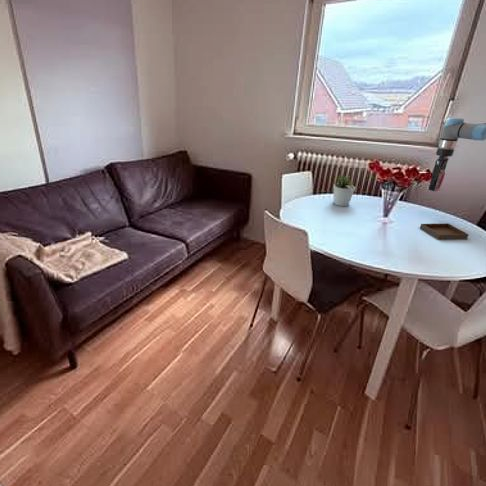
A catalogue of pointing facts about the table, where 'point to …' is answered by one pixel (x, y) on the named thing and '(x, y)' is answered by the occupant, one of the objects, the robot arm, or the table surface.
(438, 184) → the beverage can
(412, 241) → the table surface
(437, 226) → the tray
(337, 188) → the potted plant
